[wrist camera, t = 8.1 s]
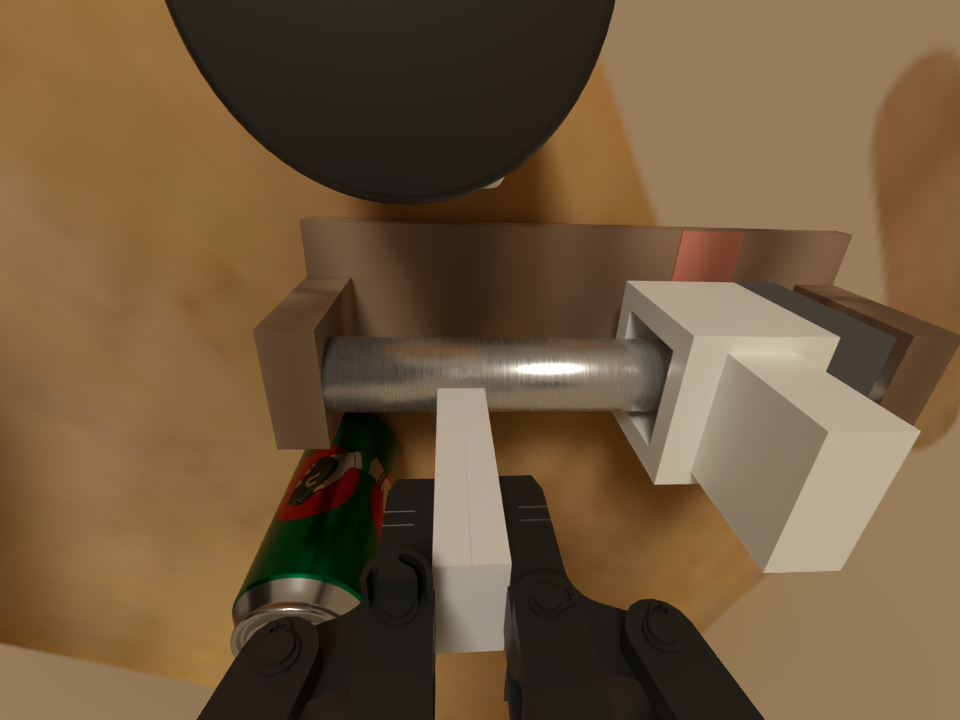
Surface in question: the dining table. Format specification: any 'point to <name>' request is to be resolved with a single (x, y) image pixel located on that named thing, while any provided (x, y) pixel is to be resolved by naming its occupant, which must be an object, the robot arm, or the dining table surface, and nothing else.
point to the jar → (397, 84)
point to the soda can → (321, 531)
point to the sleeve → (761, 422)
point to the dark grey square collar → (857, 346)
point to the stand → (539, 295)
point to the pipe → (501, 373)
